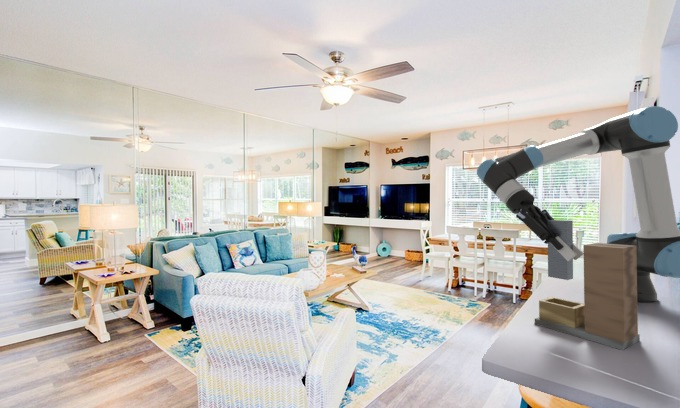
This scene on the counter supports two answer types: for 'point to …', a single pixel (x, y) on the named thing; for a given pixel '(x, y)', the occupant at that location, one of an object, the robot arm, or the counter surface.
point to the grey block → (556, 261)
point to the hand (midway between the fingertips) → (575, 257)
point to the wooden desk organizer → (600, 299)
